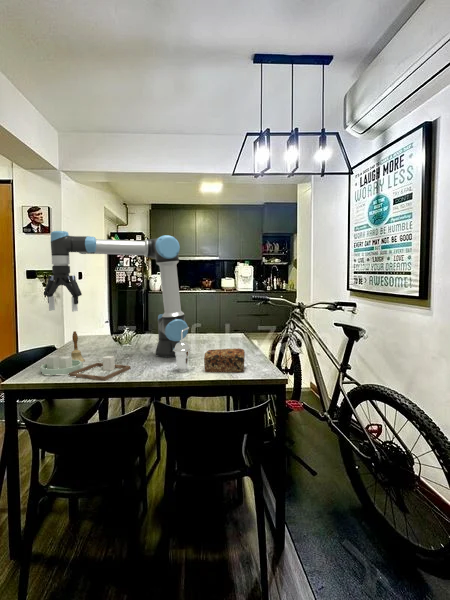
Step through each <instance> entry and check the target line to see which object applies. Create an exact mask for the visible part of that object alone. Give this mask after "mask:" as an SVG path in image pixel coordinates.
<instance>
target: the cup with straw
mask: <svg viewBox="0 0 450 600" xmlns="http://www.w3.org/2000/svg"><path fill="white" fill-rule="evenodd" d="M187 329H188V330H189V329H190V327H189V326H188V328H186V329H184V330H182V331H181V340H180V342H178V343H177V344H176V345H175V348H173V351H174V352H175V362H176V369H177V372H180V373H184V372H187V371H188V368H189V367H188V366H189V357H190V351H192V348H191V347H190V345H189V343H188V342H186V341H184V339H183V331H185V330H187Z"/></svg>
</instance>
